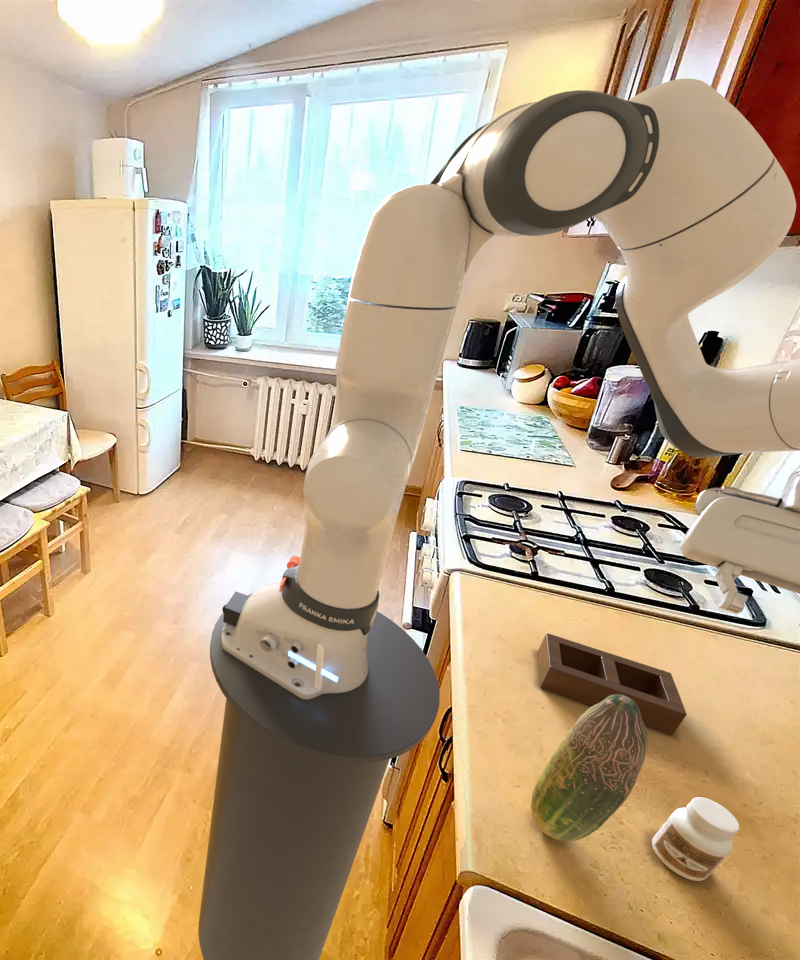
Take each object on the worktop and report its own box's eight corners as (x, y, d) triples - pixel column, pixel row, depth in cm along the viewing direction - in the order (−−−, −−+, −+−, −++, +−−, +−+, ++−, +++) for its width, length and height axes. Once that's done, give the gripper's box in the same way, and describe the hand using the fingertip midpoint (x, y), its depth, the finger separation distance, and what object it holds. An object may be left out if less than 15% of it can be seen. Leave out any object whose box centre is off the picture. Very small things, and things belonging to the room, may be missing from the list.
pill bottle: (646, 856, 54) (682, 811, 51) (654, 827, 57) (688, 783, 53) (703, 893, 51) (745, 848, 48) (708, 861, 54) (748, 816, 50)
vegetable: (521, 787, 60) (590, 662, 51) (586, 819, 57) (672, 691, 48) (519, 833, 56) (595, 704, 47) (591, 869, 53) (687, 739, 44)
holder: (672, 735, 67) (687, 714, 65) (539, 687, 74) (550, 667, 72) (657, 693, 73) (671, 672, 72) (536, 652, 80) (546, 632, 78)
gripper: (714, 469, 57) (666, 577, 56) (1039, 544, 45) (991, 688, 43) (696, 491, 62) (652, 592, 60) (984, 566, 50) (939, 695, 48)
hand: (795, 633), depth 52 cm, fingers open, 8 cm apart
